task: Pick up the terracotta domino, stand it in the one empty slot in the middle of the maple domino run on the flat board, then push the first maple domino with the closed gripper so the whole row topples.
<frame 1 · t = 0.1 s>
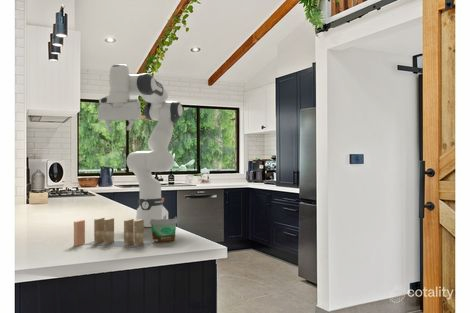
hand: (119, 130, 187), 48 cm above the counter, fingers open, 8 cm apart
flat board: (119, 244, 169), on the counter
food container: (166, 242, 173), on the counter
maple domino 2: (109, 243, 170), resting on flat board
maple domino 4: (128, 244, 168), resting on flat board
maple domino 5: (139, 244, 167), resting on flat board
terracotta domino: (79, 245, 168), on the counter
maple domino 1: (99, 242, 171), resting on flat board
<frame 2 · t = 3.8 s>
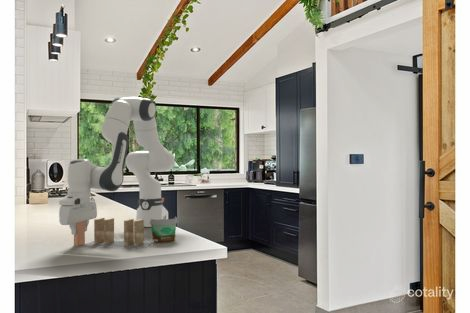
hand: (79, 232, 168), 5 cm above the counter, fingers closed on terracotta domino, 5 cm apart
terracotta domino: (79, 245, 168), on the counter, touching gripper
everything else where it was.
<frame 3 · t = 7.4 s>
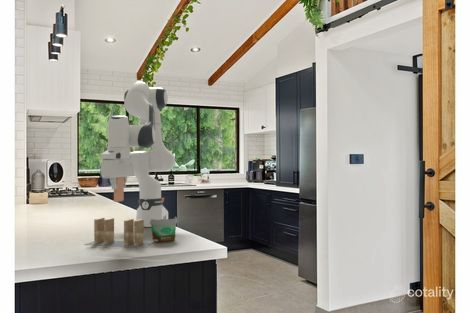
hand: (118, 188, 169), 23 cm above the counter, fingers closed on terracotta domino, 5 cm apart
terracotta domino: (118, 201, 169), point 18 cm above the counter, touching gripper
everything else where it was.
when the fingers open (6 cm above the counter, at t = 10.9 s): terracotta domino stays where it is, resting on flat board.
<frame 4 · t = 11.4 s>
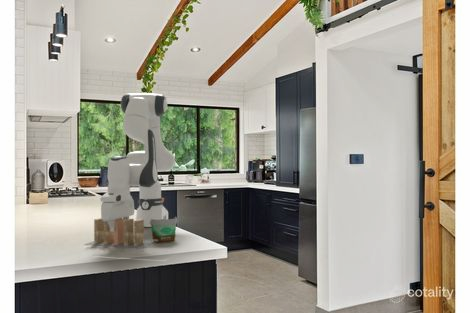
hand: (119, 229, 169), 6 cm above the counter, fingers open, 8 cm apart
terracotta domino: (119, 243, 169), resting on flat board
everything else where it was.
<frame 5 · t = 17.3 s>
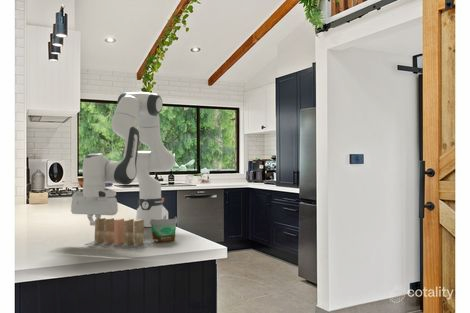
hand: (94, 225, 172), 7 cm above the counter, fingers closed
maple domino 1: (99, 242, 171), resting on flat board, touching gripper
everything else where it was.
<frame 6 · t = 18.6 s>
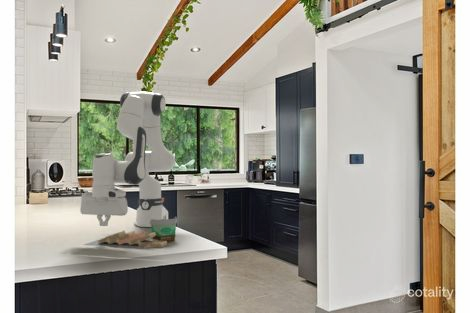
hand: (103, 225, 171), 7 cm above the counter, fingers closed
maple domino 2: (111, 241, 170), point 1 cm above the counter, tilted 69°, touching maple domino 1, flat board, terracotta domino
maple domino 4: (131, 242, 167), point 1 cm above the counter, tilted 69°, touching maple domino 5, terracotta domino
maple domino 5: (141, 243, 166), point 1 cm above the counter, tilted 90°, touching maple domino 4, flat board
terracotta domino: (121, 242, 169), point 1 cm above the counter, tilted 69°, touching maple domino 2, maple domino 4, flat board
maple domino 1: (101, 241, 171), point 1 cm above the counter, tilted 69°, touching maple domino 2
everything else where it was.
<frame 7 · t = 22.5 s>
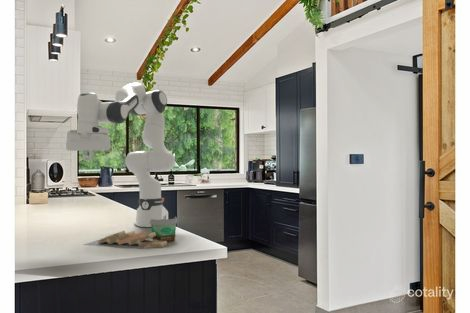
hand: (88, 161, 180), 34 cm above the counter, fingers closed
nothing on the counter moved.
at the end: maple domino 5 tilted 90°; terracotta domino 0.5 cm from the target spot, point 1.1 cm above the counter; terracotta domino tilted 69° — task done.
